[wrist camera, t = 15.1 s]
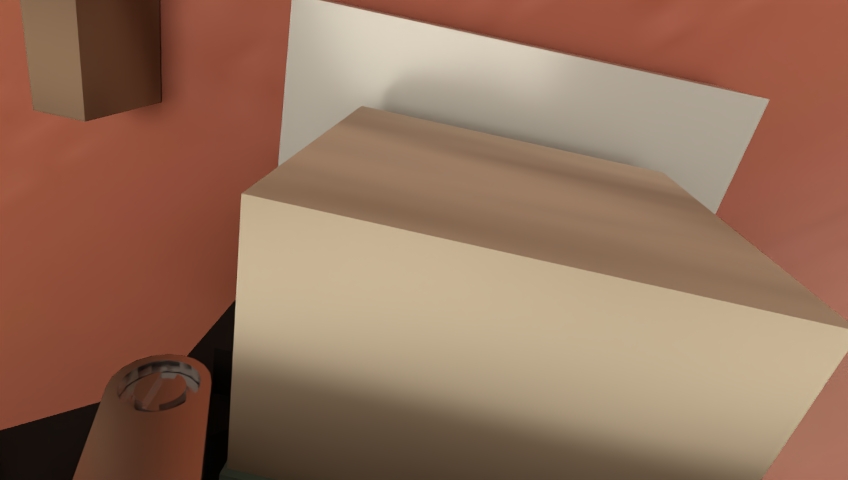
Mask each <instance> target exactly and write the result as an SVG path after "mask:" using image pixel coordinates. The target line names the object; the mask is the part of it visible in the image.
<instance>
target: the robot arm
mask: <svg viewBox="0 0 848 480" xmlns="http://www.w3.org/2000/svg"><path fill="white" fill-rule="evenodd" d="M235 307H236V300H235V301H234V302H233V303H232V305H231V306H230V307H229V308H228V309H227V310H226V312H225V313H224V314H223V315H222V316H221V317H220V319H219V320H218V321H217V322H216V323H215V324H214V325H213V327H212V328H211V329H210V330H209V331H208V332H207V334H206V335H205V336H204V337H203V338H202V339H201V341H200V342H199V343H198V344H197V345H196V346H195V347H194V349H193V350H192V351H191V352H190V353H189V354H188V356H187V357H186V356H183V355H172V354H165V355H156V356H150V357H147V358H143V359H140V360H137V361H135V362H133V363H131V364H129V365H127V366H125V367H123V368H122V369H121V370H119V371H118V372H117V373H116V374H115V375H114V376H112V378H111V380H110V381H109V383H108V384H107V386H106V388H105V391H104V394H103V397H102V399H101V402H99V403H95V404H92V405H88V406H85V407H81V408H78V409H74V410H71V411H67V412H64V413H60V414H57V415H53V416H50V417H46V418H43V419H39V420H35V421H32V422H28V423H25V424H21V425H18V426H14V427H11V428H7V429H4V430H0V480H219V474H220V472H221V470H222V469H223V467H224V465H225V463H226V462H227V458H228V439H229V420H230V401H231V382H232V363H233V345H234V326H235Z"/></svg>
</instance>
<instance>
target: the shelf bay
mask: <svg viewBox="0 0 848 480" xmlns="http://www.w3.org/2000/svg"><path fill="white" fill-rule="evenodd" d="M20 4H21V12H22V21H23V29H24V37H25V46H26V54H27V62H28V71H29V79H30V87H31V96H32V104H33V110H35V111H40V112H44V113H49V114H53V115H58V116H62V117H67V118H71V119H75V120H80V121H84V122H85V121H89V120H93V119H97V118H101V117H105V116H109V115H113V114H117V113H121V112H124V111H128V110H132V109H136V108H140V107H144V106H148V105H152V104H156V103H160V102H161V67H160V5H159V0H20Z"/></svg>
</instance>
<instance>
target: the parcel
mask: <svg viewBox="0 0 848 480" xmlns="http://www.w3.org/2000/svg"><path fill="white" fill-rule="evenodd" d="M847 351H848V321H846V320H845V319H844V318H843V317H842V316H840V315H839V314H838V313H837V312H835V311H834V310H833V309H832V308H830V307H829V306H828V305H827V304H825V303H824V302H823V301H822V300H820V299H819V298H818V297H817V296H815V295H814V294H813V293H812V292H811V291H809V290H808V289H807V288H806V287H804V286H803V285H802V284H801V283H799V282H798V281H797V280H796V279H794V278H793V277H792V276H791V275H789V274H788V273H787V272H786V271H784V270H783V269H782V268H781V267H780V266H778V265H777V264H776V263H775V262H773V261H772V260H771V259H770V258H768V257H767V256H766V255H765V254H763V253H762V252H761V251H760V250H758V249H757V248H756V247H755V246H753V245H752V244H751V243H750V242H749V241H747V240H746V239H745V238H744V237H742V236H741V235H740V234H739V233H737V232H736V231H735V230H734V229H732V228H731V227H730V226H729V225H727V224H726V223H725V222H724V221H723V220H721V219H720V218H719V217H718V216H716V215H715V214H714V213H713V212H711V211H710V210H709V209H708V208H706V207H705V206H704V205H703V204H701V203H700V202H699V201H698V200H696V199H695V198H694V197H693V196H692V195H690V194H689V193H688V192H687V191H685V190H684V189H683V188H682V187H680V186H679V185H678V184H677V183H675V182H674V181H673V180H672V179H670V178H669V177H668V176H667V175H665V174H664V173H663V172H658V171H654V170H649V169H645V168H640V167H636V166H631V165H627V164H622V163H618V162H613V161H609V160H604V159H600V158H595V157H591V156H586V155H582V154H577V153H573V152H568V151H564V150H559V149H555V148H550V147H546V146H541V145H537V144H532V143H528V142H523V141H519V140H514V139H510V138H505V137H501V136H496V135H491V134H487V133H482V132H478V131H473V130H469V129H464V128H460V127H455V126H451V125H446V124H442V123H437V122H433V121H428V120H424V119H419V118H415V117H410V116H406V115H401V114H397V113H392V112H388V111H383V110H379V109H374V108H370V107H365V106H361V107H359V108H358V109H357V110H355V111H354V112H352V113H351V114H350V115H348V116H347V117H346V118H344V119H343V120H341V121H340V122H339V123H337V124H336V125H335V126H333V127H332V128H330V129H329V130H328V131H326V132H325V133H324V134H322V135H321V136H320V137H318V138H317V139H315V140H314V141H313V142H311V143H310V144H309V145H307V146H306V147H304V148H303V149H302V150H300V151H299V152H298V153H296V154H295V155H293V156H292V157H291V158H289V159H288V160H287V161H285V162H284V163H282V164H281V165H280V166H278V167H277V168H276V169H274V170H273V171H272V172H270V173H269V174H267V175H266V176H265V177H263V178H262V179H261V180H259V181H258V182H256V183H255V184H254V185H252V186H251V187H250V188H248V189H247V190H245V191H244V192H243V193H242V194H241V212H240V231H239V250H238V269H237V288H236V307H235V326H234V345H233V363H232V382H231V401H230V420H229V439H228V458H227V462H226V463H225V465H224V467H223V469H222V470H221V472H220V474H219V480H761V479H762V478H763V476H764V475H765V473H766V472H767V470H768V469H769V467H770V466H771V464H772V463H773V461H774V460H775V458H776V457H777V455H778V454H779V452H780V451H781V449H782V448H783V447H784V445H785V444H786V442H787V441H788V439H789V438H790V436H791V435H792V433H793V432H794V430H795V429H796V427H797V426H798V424H799V423H800V421H801V420H802V418H803V417H804V415H805V414H806V412H807V411H808V409H809V408H810V406H811V405H812V403H813V402H814V400H815V399H816V397H817V396H818V394H819V393H820V391H821V390H822V388H823V387H824V385H825V384H826V382H827V381H828V379H829V378H830V376H831V375H832V374H833V372H834V371H835V369H836V368H837V366H838V365H839V363H840V362H841V360H842V359H843V357H844V356H845V354H846V353H847Z"/></svg>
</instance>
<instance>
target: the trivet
mask: <svg viewBox="0 0 848 480" xmlns="http://www.w3.org/2000/svg"><path fill="white" fill-rule="evenodd" d="M769 100H770V99H766V98H762V97H759V96H755V95H751V94H747V93H744V92H740V91H736V90H732V89H729V88H725V87H721V86H717V85H713V84H708V83H704V82H699V81H695V80H690V79H686V78H681V77H677V76H672V75H668V74H663V73H659V72H654V71H649V70H645V69H640V68H636V67H631V66H627V65H622V64H618V63H613V62H609V61H604V60H600V59H595V58H590V57H586V56H581V55H577V54H572V53H568V52H563V51H559V50H554V49H550V48H545V47H541V46H536V45H531V44H527V43H522V42H518V41H513V40H509V39H504V38H500V37H495V36H491V35H486V34H482V33H477V32H473V31H468V30H463V29H459V28H454V27H450V26H445V25H441V24H436V23H432V22H427V21H423V20H418V19H414V18H409V17H404V16H400V15H395V14H391V13H386V12H382V11H377V10H373V9H368V8H364V7H359V6H355V5H350V4H345V3H341V2H336V1H332V0H292V5H291V17H290V29H289V41H288V53H287V65H286V77H285V90H284V102H283V114H282V126H281V138H280V150H279V162H278V166H280V165H281V164H282V163H284V162H285V161H287V160H288V159H289V158H291V157H292V156H293V155H295V154H296V153H298V152H299V151H300V150H302V149H303V148H304V147H306V146H307V145H309V144H310V143H311V142H313V141H314V140H315V139H317V138H318V137H320V136H321V135H322V134H324V133H325V132H326V131H328V130H329V129H330V128H332V127H333V126H335V125H336V124H337V123H339V122H340V121H341V120H343V119H344V118H346V117H347V116H348V115H350V114H351V113H352V112H354V111H355V110H357V109H358V108H359V107H361V106H365V107H370V108H374V109H379V110H383V111H388V112H392V113H397V114H401V115H406V116H410V117H415V118H419V119H424V120H428V121H433V122H437V123H442V124H446V125H451V126H455V127H460V128H464V129H469V130H473V131H478V132H482V133H487V134H491V135H496V136H501V137H505V138H510V139H514V140H519V141H523V142H528V143H532V144H537V145H541V146H546V147H550V148H555V149H559V150H564V151H568V152H573V153H577V154H582V155H586V156H591V157H595V158H600V159H604V160H609V161H613V162H618V163H622V164H627V165H631V166H636V167H640V168H645V169H649V170H654V171H658V172H663V173H664V174H665V175H667V176H668V177H669V178H670V179H672V180H673V181H674V182H675V183H677V184H678V185H679V186H680V187H682V188H683V189H684V190H685V191H687V192H688V193H689V194H690V195H692V196H693V197H694V198H695V199H696V200H698V201H699V202H700V203H701V204H703V205H704V206H705V207H706V208H708V209H709V210H710V211H711V212H713V213H714V214H716V212H717V209H718V207H719V205H720V203H721V201H722V199H723V197H724V195H725V193H726V190H727V188H728V186H729V184H730V182H731V180H732V178H733V176H734V174H735V171H736V169H737V167H738V165H739V163H740V161H741V159H742V157H743V155H744V152H745V150H746V148H747V146H748V144H749V142H750V140H751V138H752V135H753V133H754V131H755V129H756V127H757V125H758V123H759V121H760V119H761V116H762V114H763V112H764V110H765V108H766V106H767V104H768V102H769Z"/></svg>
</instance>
